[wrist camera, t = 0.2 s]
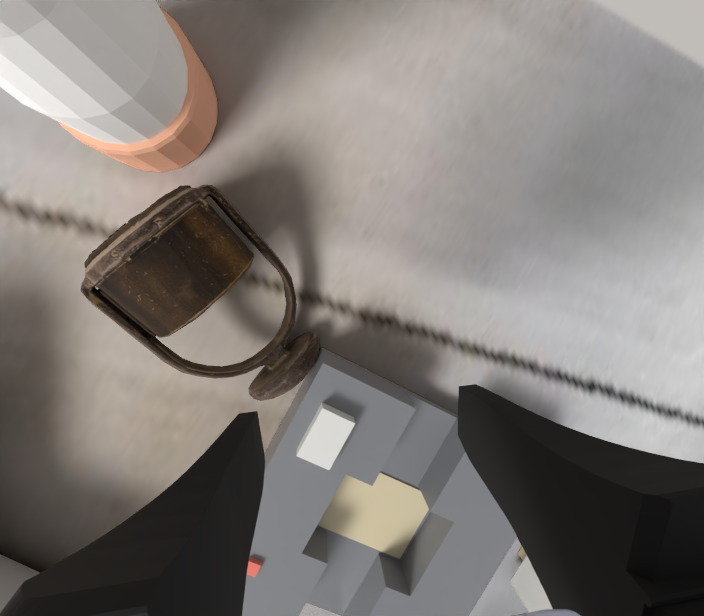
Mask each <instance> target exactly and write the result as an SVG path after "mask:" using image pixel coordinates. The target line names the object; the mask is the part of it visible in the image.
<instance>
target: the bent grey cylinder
mask: <svg viewBox="0 0 704 616" xmlns="http://www.w3.org/2000/svg"><path fill="white" fill-rule="evenodd" d="M39 573H40V572H38V571H36V570H33V569H31V568H29V567H27V566H25V565H23V564H20V563H18V562H16V561H14V560H12V559H9V558H7V557H5V556H3V555H1V554H0V613H1V611H2V610H3V609H4V607H5V606H6V605H7V603H8V602H9V601H10V599H11V598H12V596H13V595H14V594H15V592H16V591H17V590H18V588H19V587H20V586H21V585H22V583H23V582H24V581H26V580H28V579H30V578H32V577H34V576H36V575H37V574H39Z"/></svg>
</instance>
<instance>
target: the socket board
mask: <svg viewBox="0 0 704 616" xmlns="http://www.w3.org/2000/svg"><path fill="white" fill-rule="evenodd" d="M264 456H265V472H264V484H263V492H262V498H261V503H260V508H259V513H258V517H257V522H256V527H255V532H254V537H253V542H252V547H251V551H250V556H249V562H248V568H247V575H246V584H245V593H244V602H243V611H242V616H299V614H300V612H301V610H302V609H303V607H304V605H305V603H309V604H312V605H314V606H317V607H320V608H323V609H325V610H328V611H331V612H333V613H336V614H339V615H341V616H469V614H470V613H471V611H472V610H473V608H474V606H475V605H476V603H477V601H478V600H479V598H480V597H481V595H482V593H483V592H484V590H485V588H486V587H487V585H488V583H489V582H490V580H491V579H492V577H493V575H494V574H495V572H496V570H497V569H498V567H499V566H500V564H501V562H502V561H503V559H504V557H505V556H506V554H507V552H508V551H509V549H510V548H511V546H512V544H513V543H514V541H515V539H516V538H517V535H516V533H515V531H514V530H513V528H512V526H511V524H510V523H509V521H508V519H507V518H506V516H505V514H504V513H503V511H502V510H501V508H500V507H499V505H498V504H497V502H496V501H495V499H494V497H493V496H492V494H491V493H490V491H489V490H488V488H487V487H486V485H485V484H484V482H483V480H482V479H481V477H480V476H479V474H478V473H477V471H476V470H475V468H474V466H473V465H472V463H471V462H470V460H469V458H468V456H467V454H466V452H465V450H464V448H463V446H462V443H461V441H460V439H459V437H458V415H457V414H455V413H453V412H451V411H449V410H447V409H445V408H443V407H441V406H439V405H437V404H435V403H433V402H431V401H429V400H427V399H425V398H423V397H421V396H419V395H417V394H415V393H413V392H411V391H409V390H407V389H405V388H403V387H401V386H399V385H397V384H395V383H393V382H391V381H389V380H387V379H385V378H383V377H381V376H379V375H377V374H375V373H373V372H371V371H369V370H367V369H365V368H363V367H361V366H359V365H357V364H355V363H353V362H351V361H349V360H347V359H345V358H343V357H341V356H339V355H337V354H335V353H333V352H331V351H329V350H327V349H325V348H323V347H322V348H321V350H320V352H319V354H318V355H317V357H316V359H315V361H314V364H313V366H312V368H311V370H310V371H309V372H308V374H307V376H306V378H305V380H304V381H303V383H302V385H301V387H300V389H299V391H298V393H297V394H296V396H295V398H294V400H293V402H292V404H291V406H290V407H289V409H288V411H287V413H286V415H285V417H284V419H283V420H282V422H281V424H280V426H279V428H278V430H277V432H276V433H275V435H274V437H273V439H272V441H271V443H270V445H269V446H268V448H267V450H266V452H265V454H264Z"/></svg>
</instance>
